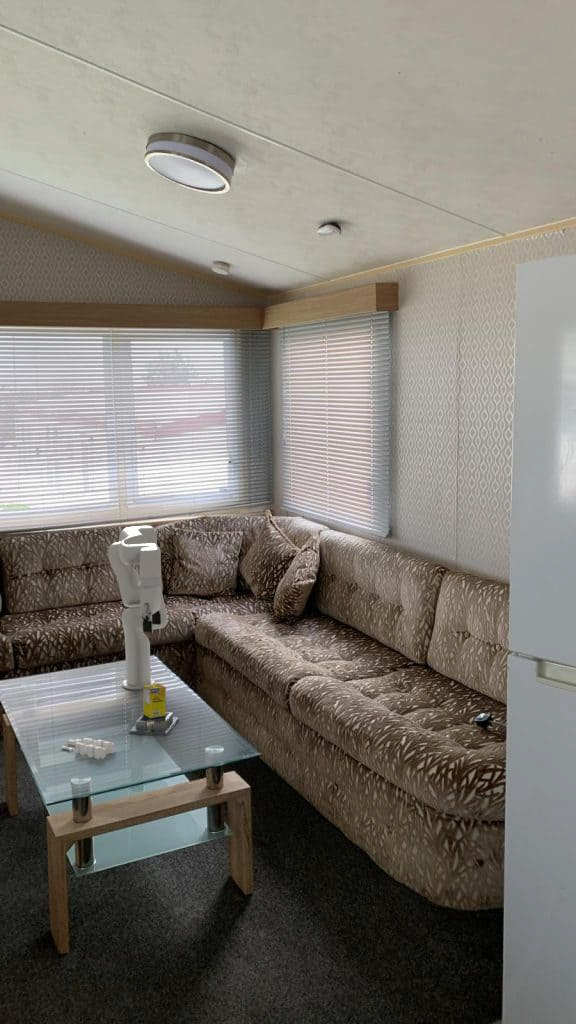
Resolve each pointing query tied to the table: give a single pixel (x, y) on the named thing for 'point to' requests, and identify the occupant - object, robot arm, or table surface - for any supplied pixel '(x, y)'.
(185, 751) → the table surface
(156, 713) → the supplement box
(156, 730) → the grey square tray
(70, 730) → the table surface
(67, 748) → the modular blocks
